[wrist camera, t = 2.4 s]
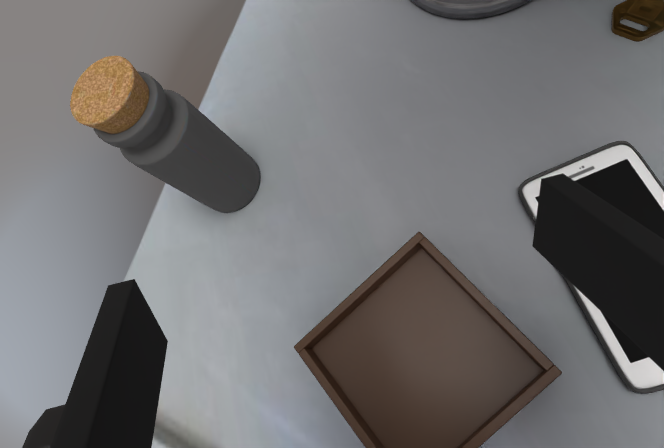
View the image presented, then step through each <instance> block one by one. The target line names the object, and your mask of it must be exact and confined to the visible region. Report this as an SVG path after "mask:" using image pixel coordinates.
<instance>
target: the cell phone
mask: <svg viewBox="0 0 664 448" xmlns="http://www.w3.org/2000/svg"><path fill="white" fill-rule="evenodd" d="M562 173H563V174H565V175H566V176H568V177H569V178H571V179H572V180H574V181H576V182H577V183H579V184H580V185H582V186H583V187H585V188H586V189H588V190H589V191H591V192H592V193H594V194H596V195H597V196H599V197H600V198H602V199H603V200H605V201H606V202H608V203H609V204H611V205H612V206H614V207H615V208H617V209H619V210H620V211H622V212H623V213H625V214H626V215H628V216H629V217H631V218H632V219H634V220H635V221H637V222H638V223H640V224H642V225H643V226H645V227H646V228H648V229H649V230H651V231H652V232H654V233H655V234H657V235H658V236H660V237H661V238H663V239H664V187H663V185H662V184H661V183H660V181H659V180H658V178H657V177H656V176H655V174H654V173H653V171H652V170H651V169H650V167H649V166H648V164H647V163H646V162H645V160H644V159H643V158H642V156H641V155H640V153H639V152H638V151H637V150H636V149H635V148H634V147H633V146H632V145H631V144H630V143H628V142H626V141H617V142H613V143H610V144H607V145H605V146H603V147H600V148H598V149H596V150H593V151H591V152H589V153H586V154H584V155H581V156H579V157H577V158H574V159H572V160H570V161H567V162H565V163H563V164H560V165H558V166H556V167H553V168H551V169H549V170H546V171H544V172H542V173H539V174H537V175H535V176H533V177H531V178H528V179H527V180H525V181H524V182H523V183H522V184H521V185H520V187H519V195H520V198H521V201H522V203H523V205H524V206H525V208H526V210H527V212H528V214H529V216H530V218H532V217H533V219H534V221H535V222H536V216H537V208H538V201H539V193H540V185H541V179H542V178H546V177H550V176H554V175H558V174H562ZM564 278H565V280H566V281H567V283H568V285H569V287H570V289H571V290H572V292H573V294H574V296H575V297H576V299H577V301H578V303H579V305H580V306H581V308H582V310H583V312H584V314H585V315H586V317H587V319H588V321H589V322H590V324H591V326H592V328H593V330H594V331H595V333H596V335H597V337H598V339H599V340H600V342H601V344H602V346H603V347H604V349H605V351H606V353H607V355H608V356H609V358H610V360H611V362H612V364H613V365H614V367H615V369H616V371H617V373H618V374H619V376H620V377H621V379H622V380H623V381H624V383H625V384H626V386H627V387H628V388H629V389H630V390H632V391H633V392H636V393H641V394H645V393H652V392H656V391H660V390H663V389H664V371H663V370H662V369H661V368H660V367H659V366H658V365H657V364H656V363H655V362H653V361H652V360H651V359H650V358H649V357H648V356H647V355H646V354H645V353H644V352H643V351H642V350H641V349H640V348H639V347H638V346H637V345H636V344H635V343H634V342H633V341H631V340H630V339H629V338H628V337H627V336H626V335H625V334H624V333H623V332H622V331H621V330H620V329H619V328H618V327H617V326H616V325H615V324H614V323H613V322H612V321H611V320H610V319H608V318H607V317H606V316H605V315H604V314H603V313H602V312H601V311H600V310H599V309H598V308H597V307H596V306H595V305H594V304H593V303H592V302H591V301H590V300H589V299H588V298H586V297H585V296H584V295H583V294H582V293H581V292H580V291H579V290H578V289H577V288H576V287H575V286H574V285H573V284H572V283H571V282H570V281H569V280H568V279H567V278H566V277H564Z"/></svg>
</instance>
